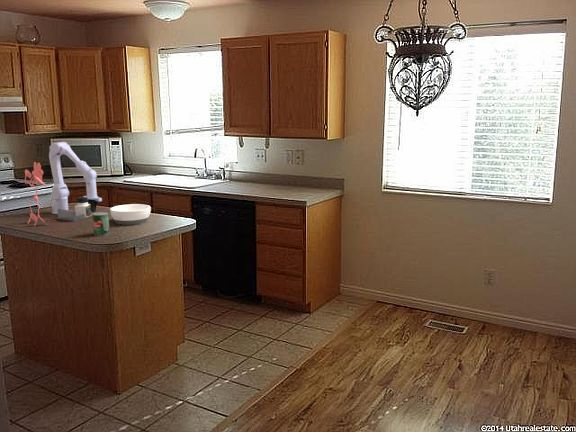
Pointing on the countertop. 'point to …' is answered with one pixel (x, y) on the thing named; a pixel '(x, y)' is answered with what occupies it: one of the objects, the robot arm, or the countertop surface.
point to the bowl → (130, 214)
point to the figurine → (37, 177)
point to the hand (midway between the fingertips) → (93, 211)
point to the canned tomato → (101, 223)
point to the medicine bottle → (83, 207)
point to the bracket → (69, 215)
